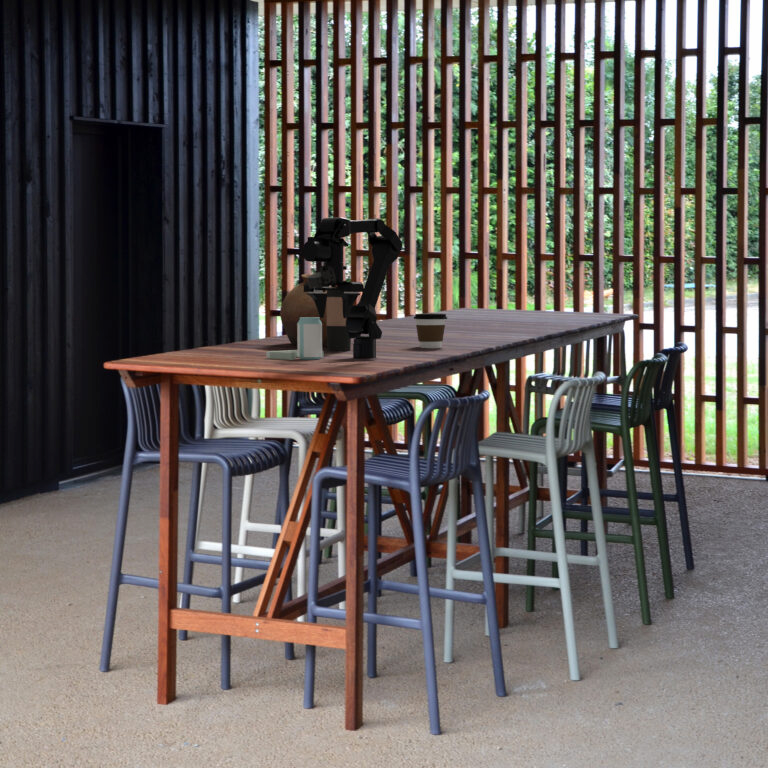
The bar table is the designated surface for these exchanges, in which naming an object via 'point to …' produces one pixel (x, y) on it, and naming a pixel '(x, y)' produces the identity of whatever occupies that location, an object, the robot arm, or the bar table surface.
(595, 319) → the bar table surface
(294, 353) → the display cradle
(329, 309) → the travel mug
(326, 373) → the bar table surface
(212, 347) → the bar table surface
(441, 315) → the coffee cup
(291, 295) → the pottery
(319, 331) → the can
